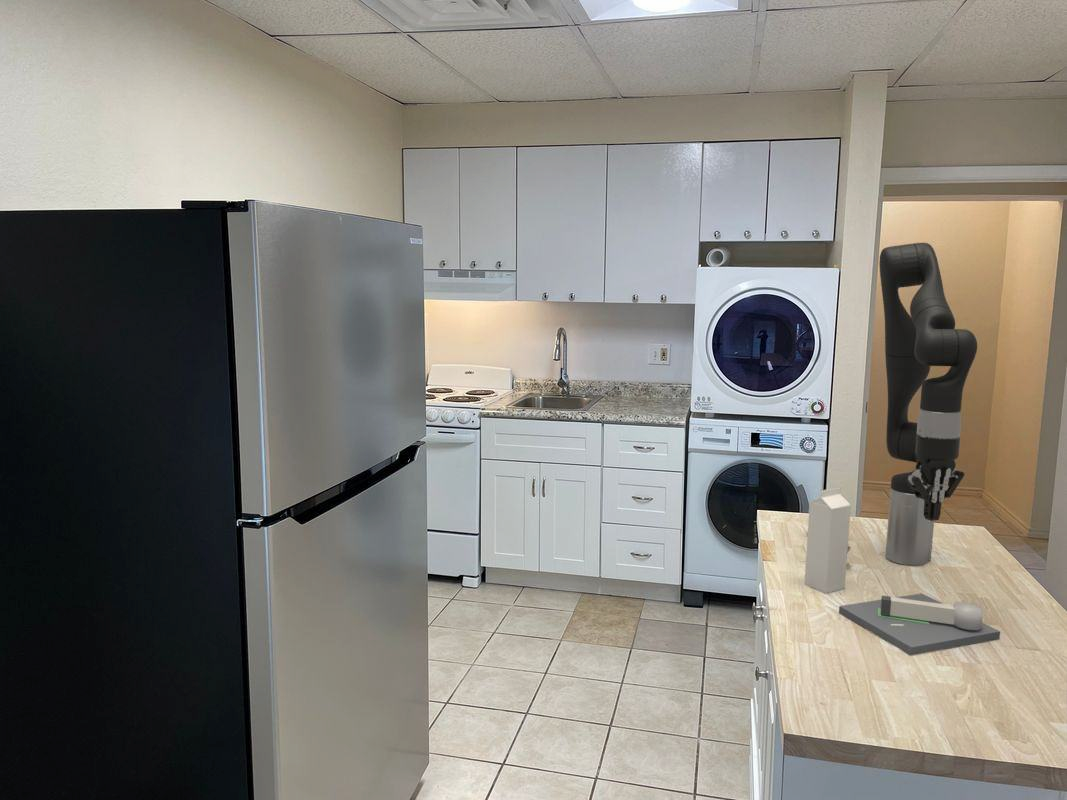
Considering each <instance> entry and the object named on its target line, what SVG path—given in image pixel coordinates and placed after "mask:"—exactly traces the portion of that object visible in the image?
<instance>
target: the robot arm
mask: <svg viewBox="0 0 1067 800" xmlns="http://www.w3.org/2000/svg"><path fill="white" fill-rule="evenodd" d="M935 251H936V250H935V249H934V247H933V246H932V245H931V244H930V243H928V242H914V243H907V244H906V243H905V244H900V245H899V244H898V245H892V246H886V247H884V248H883V249H882V250H881V252H880V256H879V262H878V263H879V265H878V266H879V274H880V275H879V277H880V286H881V295H882V303H883V304H882V305H883V313H884V345H885V346H884V353H885V355H884V356H885V370H886V385H887V414H886V415H887V418H886V419H887V420H886V439H885V440H886V448H887V452H888V454H889V455H890V457H891V458H893V459H896V460H900V461H906V462H911V463H916V464H915V469H914V470H912V471H910V472H909V471H908V472H903V473H898V474H895V475H893V476H892V477H891V480H890V493H889V504H888V505H889V507H888V519H887V527H886V528H887V530H886V544H885V553H884V555H885V558H886V559H887V560H889V561H891V562H894V563H896V564H899V565H907V566H922V565H926V564H927V563H928V562H931V560H932V550H933V539H934V530H935V529H934V528H935V524H934V522H935V521H939V519H940V517H941V513H942V512H941V511H942V502H944V499H946V498H947V499H949V498H951V497H952V495H953V494H954V492H955V491H956V488H958V486H959V485H960V483H961V481H962V480H963V478H964V477H965V472H964V471H960V470H959V469H958V468H957V467H956V464H957V463H956V461H955V460H957V459H958V458H959V453H960V442H961V429H962V417H961V416H962V415H961V414H962V413H961V412H962V401H963V393H964V392H963V391H964V388H965V384H966V380H967V378H968V375H969V372H970V369H971V367H972V365H973V363H974V361H975V358H976V355H977V351H978V341H977V338H976V335H975V334H974V333H973V332H972V331H971V330H969V329H964V328H963V329H962V328H955V327H956V320H955V317H954V314H953V312H952V310H951V307H950V305H949V304H948V301H947V299H946V296H945V290H944V285H943V281H942V275H941V270H940V266H939V261H938V258H937V254H936V252H935ZM916 286H920V288H918V290H917V291H916V293H914V295H913V297H912V299H911V300H910V305H909V313H908V311H907V310H906V307H905V306H904V305H903V303H902V300H901V298H900V295H899V289H900V288H907V287H908V288H910V287H916ZM931 367H949V369H948V370H947V372H946V373H945V374H944V375H943V374H942V375H941V376H938V377H930V378H928V376H929V373H930V371H931ZM927 378H928V379H927ZM920 388H921V389H920ZM919 389H920V391H921V392H920V403H919V412H918V416H917V422H913V421H909V417H908V416H909V415H908V414H909V413H908V411H909V406H910V404H911V402H912V399H913V398H914V396H915V395H916V394H917V392H918V391H919Z"/></svg>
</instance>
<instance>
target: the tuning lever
mask: <svg viewBox="0 0 1067 800" xmlns="http://www.w3.org/2000/svg"><path fill="white" fill-rule="evenodd" d="M880 600H881V615H888V616H890V615H891V616H898V617H905V618H912V619H918V620H925V621H932V622H939V623H946V624H953V625H955V626H957V627H959V628H963V629H967V630H979V629H981V628H982V623H983V617H984V608H983V607H982V606H981V605H979V604H976V603H973V602H968V601H956V602H953V605H951V604H946V603H945V604H944V603H943V604H939V603H931V602H924V601H917V600H909V599H902V598H895V597H892V596H891V595H889V596H888V595H881V599H880Z"/></svg>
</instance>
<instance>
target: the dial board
mask: <svg viewBox="0 0 1067 800" xmlns="http://www.w3.org/2000/svg"><path fill="white" fill-rule="evenodd" d="M895 598H902V599H909V600H917V601H924V602H931V603H939V604H944V603H942V602H940V601H938V600H937V599H934V598H932V597H930V596H928V595H926V594H924V593H921V592H920V593H916V594H909V595H902V596H896V597H895ZM838 614H839V615H841V616H843V617H845V619H849V620H850V621H852V622H853V623H855V624H856V625H859V626H861V627H862V628H864V629H865V630H867V631H869V632H870V633H872V634H874V635H875V636H877V637H879V638H881V639H882V640H885V642H887V643H889V644H891V645H893V646H894V647H896V648H898V649H899V650H901V651H903V652H904V653H906V654H908V655H910V656H914V655H919V654H926V653H930V652H935V651H941V650H948V649H952V648H958V647H962V646H967V645H968V646H969V645H973V644H980V643H984V642H985V643H986V642H989V641H990V642H991V641H996V640H1000V638H1001V630H998V629H996V628H994V627H992V626H990V625H988V624H986V623H984V622H982V628H981V629H979V630H967V629H963V628H959V627H957V626H955V625H953V624H946V623H939V622H932V621H925V620H918V619H912V618H905V617H898V616H891V615H890V616H888V615H881V599H877V600H876V599H875V600H871V601H870V600H869V601H864V602H863V601H862V602H856V603H851V604H844V605H839V607H838Z"/></svg>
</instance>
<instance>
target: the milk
mask: <svg viewBox="0 0 1067 800" xmlns="http://www.w3.org/2000/svg"><path fill="white" fill-rule="evenodd" d="M850 518H851V504H850V503H849V502H848V501H847V499H846V498H845V497H843V496H842V494H841V487H834V488H829V489H823V490H821V492H820V497H818V498H816V499H814V500H811V501H809V508H808V521H807V522H808V526H807V538H806V539H807V540H806V541H807V542H806V556H805V569H804V570H805V574H804V585H805V586H808V587H810V588H811V589H814V590H817V591H819V592H822V593H823V594H829V593H833V592H836V591H841V590H844V589H845V588H846V577H847V575H846V574H847V560H848V553H847V550H848V546H849V545H848V544H849V534H850V533H849V532H850V523H851V522H850V521H851V520H850Z"/></svg>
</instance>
